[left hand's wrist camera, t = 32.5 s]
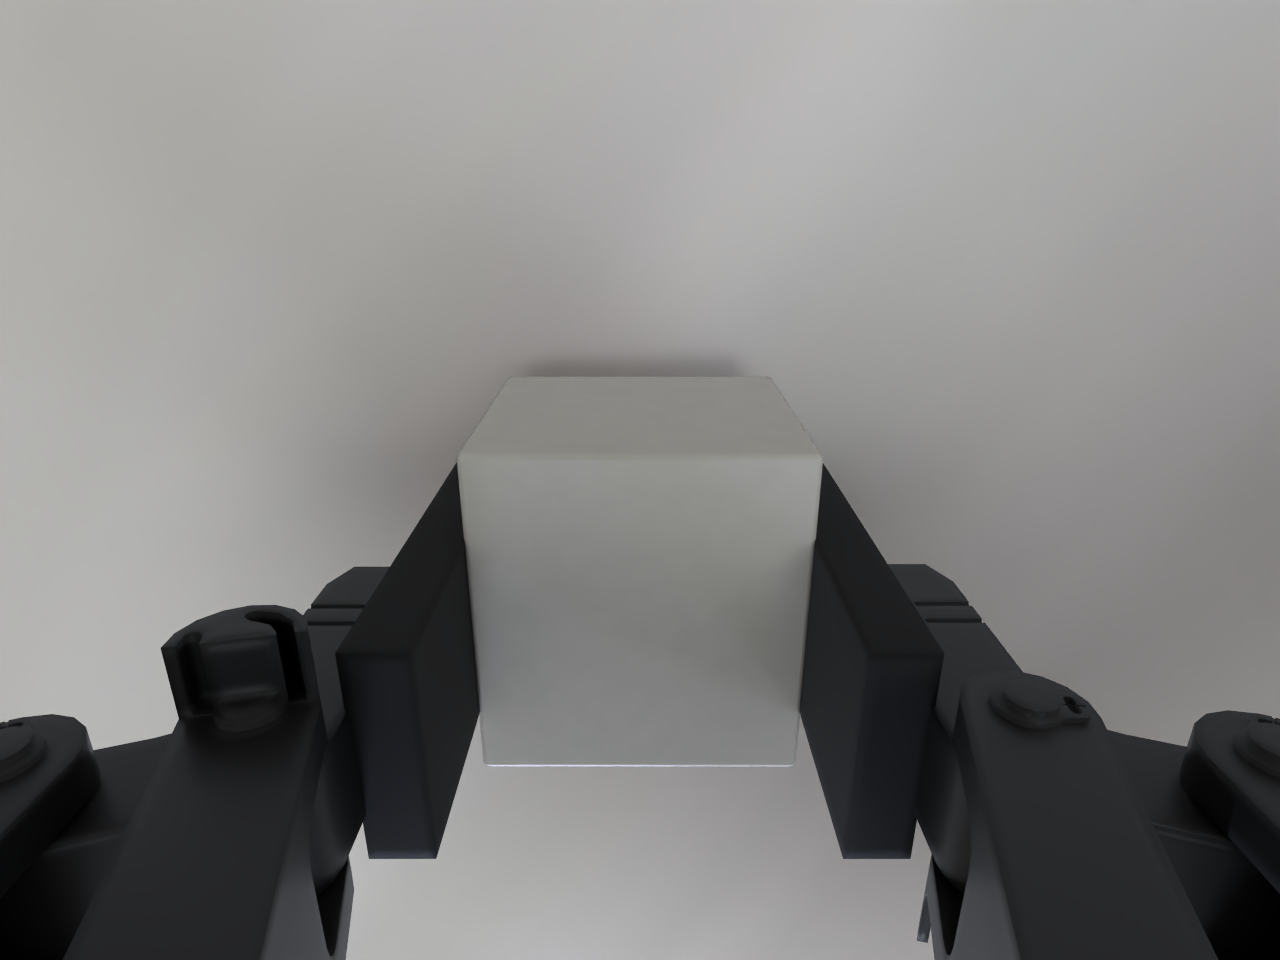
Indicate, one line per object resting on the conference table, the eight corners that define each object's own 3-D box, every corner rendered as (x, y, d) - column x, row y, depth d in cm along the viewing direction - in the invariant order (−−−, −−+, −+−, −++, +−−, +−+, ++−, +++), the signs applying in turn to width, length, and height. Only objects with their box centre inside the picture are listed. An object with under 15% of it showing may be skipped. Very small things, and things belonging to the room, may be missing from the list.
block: (772, 375, 14) (825, 455, 10) (756, 618, 15) (796, 768, 11) (507, 374, 14) (454, 454, 10) (523, 618, 15) (483, 768, 11)
